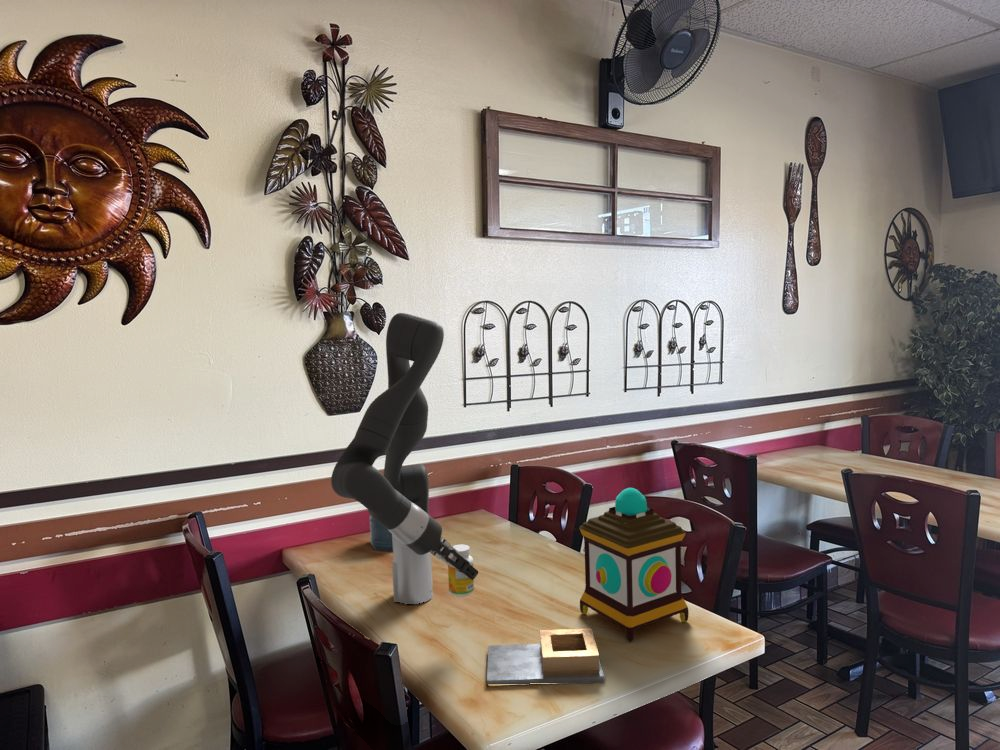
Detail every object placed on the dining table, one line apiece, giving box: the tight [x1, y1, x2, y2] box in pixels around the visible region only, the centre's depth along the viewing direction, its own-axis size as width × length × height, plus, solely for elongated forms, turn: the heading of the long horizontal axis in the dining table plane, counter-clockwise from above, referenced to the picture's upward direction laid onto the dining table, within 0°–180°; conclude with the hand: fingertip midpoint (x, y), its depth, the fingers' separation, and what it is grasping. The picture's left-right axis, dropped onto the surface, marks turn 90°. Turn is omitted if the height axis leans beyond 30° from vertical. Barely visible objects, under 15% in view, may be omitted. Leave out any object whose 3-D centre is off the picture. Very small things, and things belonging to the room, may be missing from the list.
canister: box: [368, 514, 393, 552], centre depth 203 cm, size 13×13×18 cm
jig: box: [486, 628, 605, 685], centre depth 131 cm, size 22×13×5 cm, turn 90°
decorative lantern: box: [578, 487, 689, 643], centre depth 148 cm, size 20×20×30 cm
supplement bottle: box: [447, 543, 475, 598], centre depth 140 cm, size 5×5×10 cm
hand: (468, 570), depth 141 cm, fingers closed on supplement bottle, 5 cm apart
